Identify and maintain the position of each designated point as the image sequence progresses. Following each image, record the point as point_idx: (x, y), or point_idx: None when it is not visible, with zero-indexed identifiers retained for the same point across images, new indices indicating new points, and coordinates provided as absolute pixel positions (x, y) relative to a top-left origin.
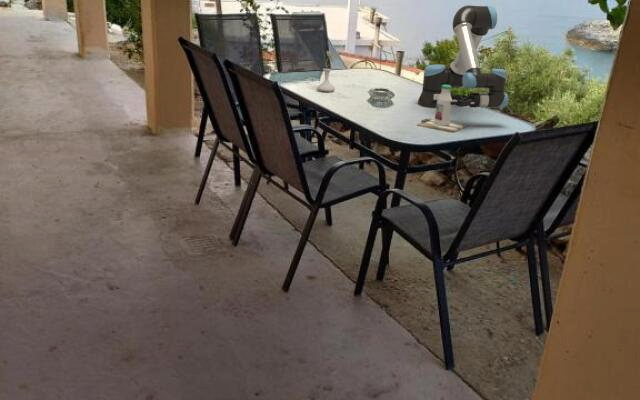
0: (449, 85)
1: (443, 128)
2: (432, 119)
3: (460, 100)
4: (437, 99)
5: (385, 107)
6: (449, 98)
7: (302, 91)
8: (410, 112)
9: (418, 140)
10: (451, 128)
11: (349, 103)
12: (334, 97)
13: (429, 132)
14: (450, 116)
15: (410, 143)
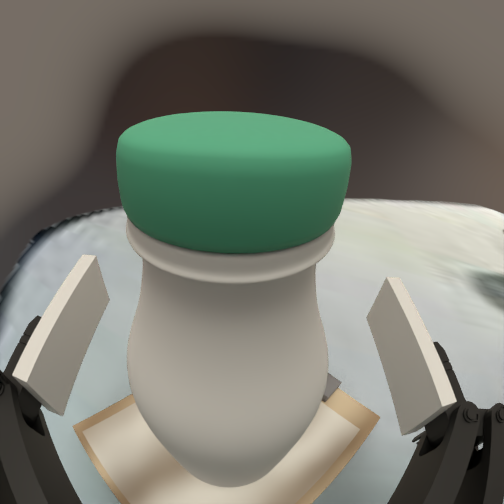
0: (212, 131)
1: (132, 405)
2: (365, 426)
3: (2, 436)
4: (377, 346)
5: (487, 297)
6: (130, 346)
7: (487, 215)
8: (476, 356)
9: (64, 254)
10: (113, 444)
11: (467, 241)
12: (490, 236)
13: (120, 325)
14: (189, 471)
15: (59, 232)
